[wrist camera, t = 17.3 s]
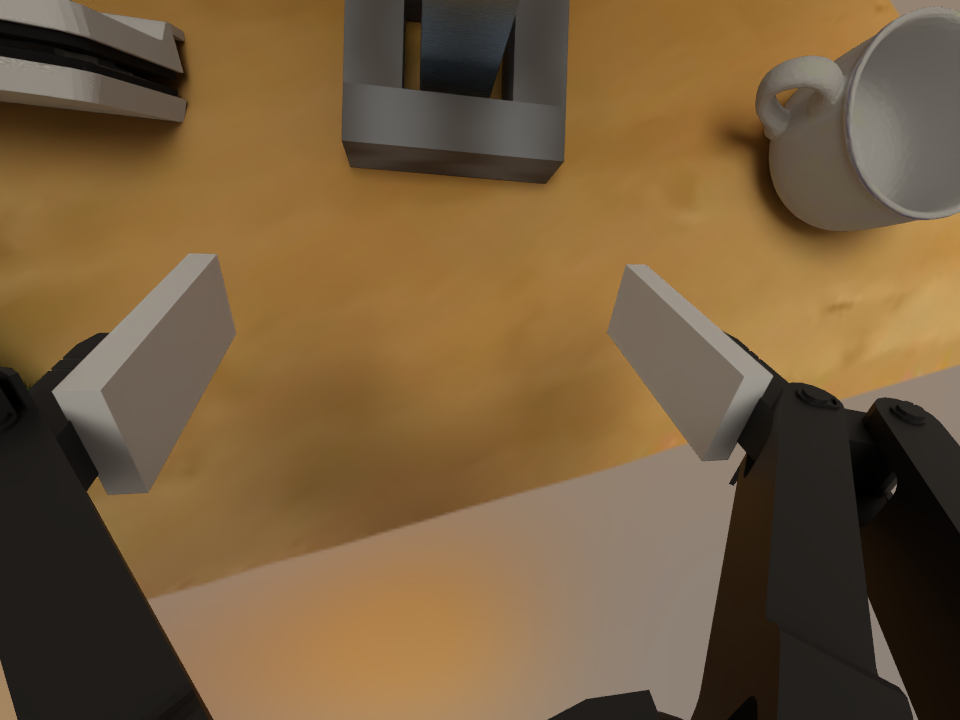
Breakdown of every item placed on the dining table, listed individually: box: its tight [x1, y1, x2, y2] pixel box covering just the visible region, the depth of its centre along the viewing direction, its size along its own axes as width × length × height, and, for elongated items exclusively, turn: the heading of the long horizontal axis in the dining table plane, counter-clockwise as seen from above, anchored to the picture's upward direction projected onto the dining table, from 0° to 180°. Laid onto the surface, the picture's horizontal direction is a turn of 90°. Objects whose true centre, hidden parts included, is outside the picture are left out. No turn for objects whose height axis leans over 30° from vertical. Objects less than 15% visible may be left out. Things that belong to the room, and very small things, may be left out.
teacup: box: [755, 7, 960, 231], centre depth 28 cm, size 14×11×8 cm
